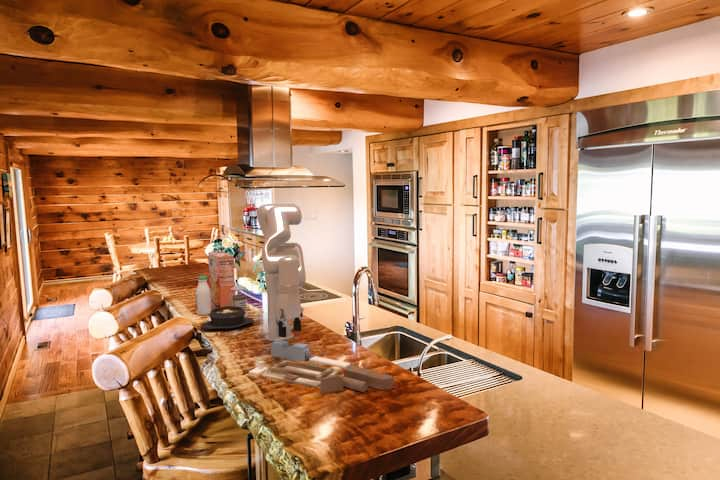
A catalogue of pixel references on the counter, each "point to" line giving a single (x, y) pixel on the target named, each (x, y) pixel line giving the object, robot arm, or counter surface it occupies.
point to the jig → (300, 372)
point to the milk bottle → (203, 297)
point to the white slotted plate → (259, 369)
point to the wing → (329, 362)
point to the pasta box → (221, 278)
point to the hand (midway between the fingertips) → (290, 333)
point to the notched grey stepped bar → (290, 350)
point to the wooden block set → (357, 380)
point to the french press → (239, 297)
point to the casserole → (227, 318)
